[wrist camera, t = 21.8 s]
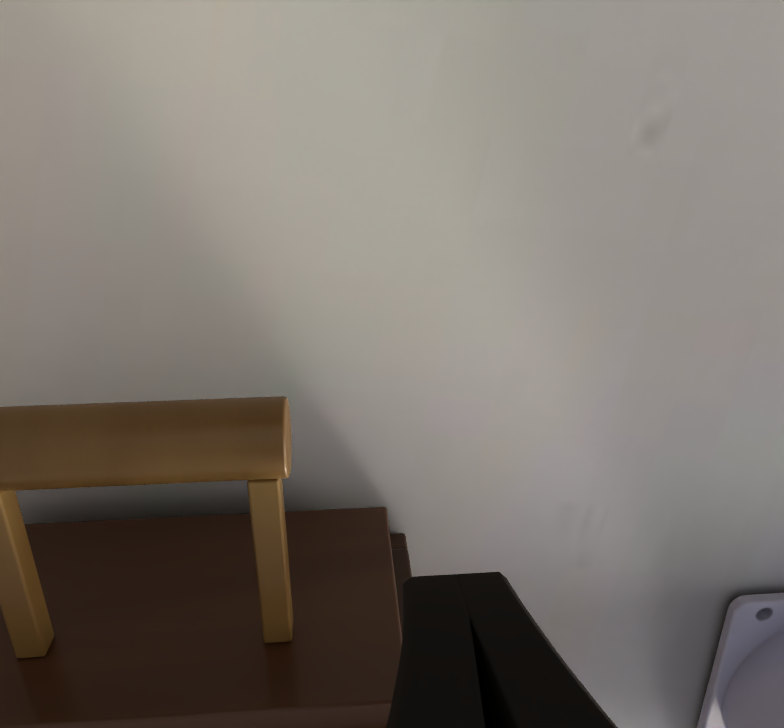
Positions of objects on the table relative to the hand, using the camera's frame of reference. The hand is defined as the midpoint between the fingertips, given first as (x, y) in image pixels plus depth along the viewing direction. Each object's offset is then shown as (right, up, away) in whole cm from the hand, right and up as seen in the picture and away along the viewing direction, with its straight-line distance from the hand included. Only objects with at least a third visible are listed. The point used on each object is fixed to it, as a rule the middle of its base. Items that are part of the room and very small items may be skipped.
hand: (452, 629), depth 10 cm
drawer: (-6, -4, +10) cm, 13 cm away
